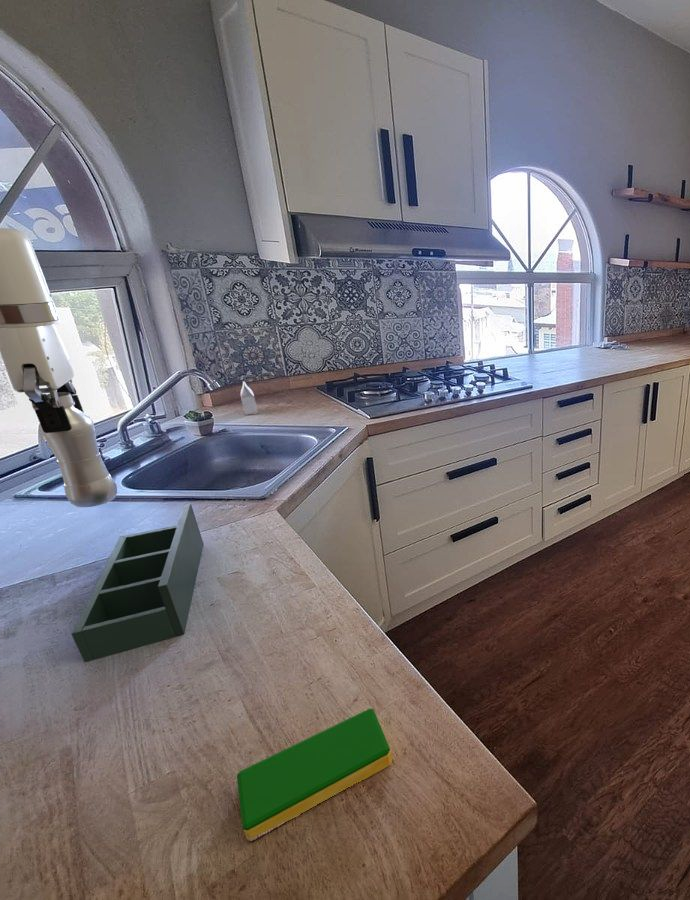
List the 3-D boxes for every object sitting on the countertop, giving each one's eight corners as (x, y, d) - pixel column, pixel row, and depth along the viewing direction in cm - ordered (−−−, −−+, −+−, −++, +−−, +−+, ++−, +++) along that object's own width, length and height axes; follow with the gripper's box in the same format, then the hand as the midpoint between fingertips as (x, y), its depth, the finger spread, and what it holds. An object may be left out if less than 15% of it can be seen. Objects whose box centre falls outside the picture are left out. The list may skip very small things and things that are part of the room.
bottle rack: (84, 662, 69) (59, 610, 66) (128, 559, 91) (112, 516, 88) (184, 634, 75) (166, 584, 71) (203, 544, 97) (190, 502, 93)
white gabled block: (256, 408, 174) (250, 380, 170) (258, 413, 169) (251, 384, 165) (244, 409, 172) (237, 381, 168) (245, 415, 167) (237, 386, 163)
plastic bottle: (112, 491, 93) (74, 387, 86) (127, 501, 90) (89, 394, 83) (65, 505, 88) (20, 395, 81) (79, 515, 85) (33, 403, 78)
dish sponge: (241, 787, 54) (236, 772, 53) (375, 720, 62) (372, 706, 61) (248, 845, 49) (242, 829, 48) (393, 764, 57) (390, 749, 56)
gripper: (10, 309, 82) (52, 413, 89) (-41, 323, 68) (12, 445, 75) (73, 308, 86) (108, 408, 92) (36, 321, 72) (81, 437, 79)
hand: (65, 423), depth 83 cm, fingers closed on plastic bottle, 6 cm apart
